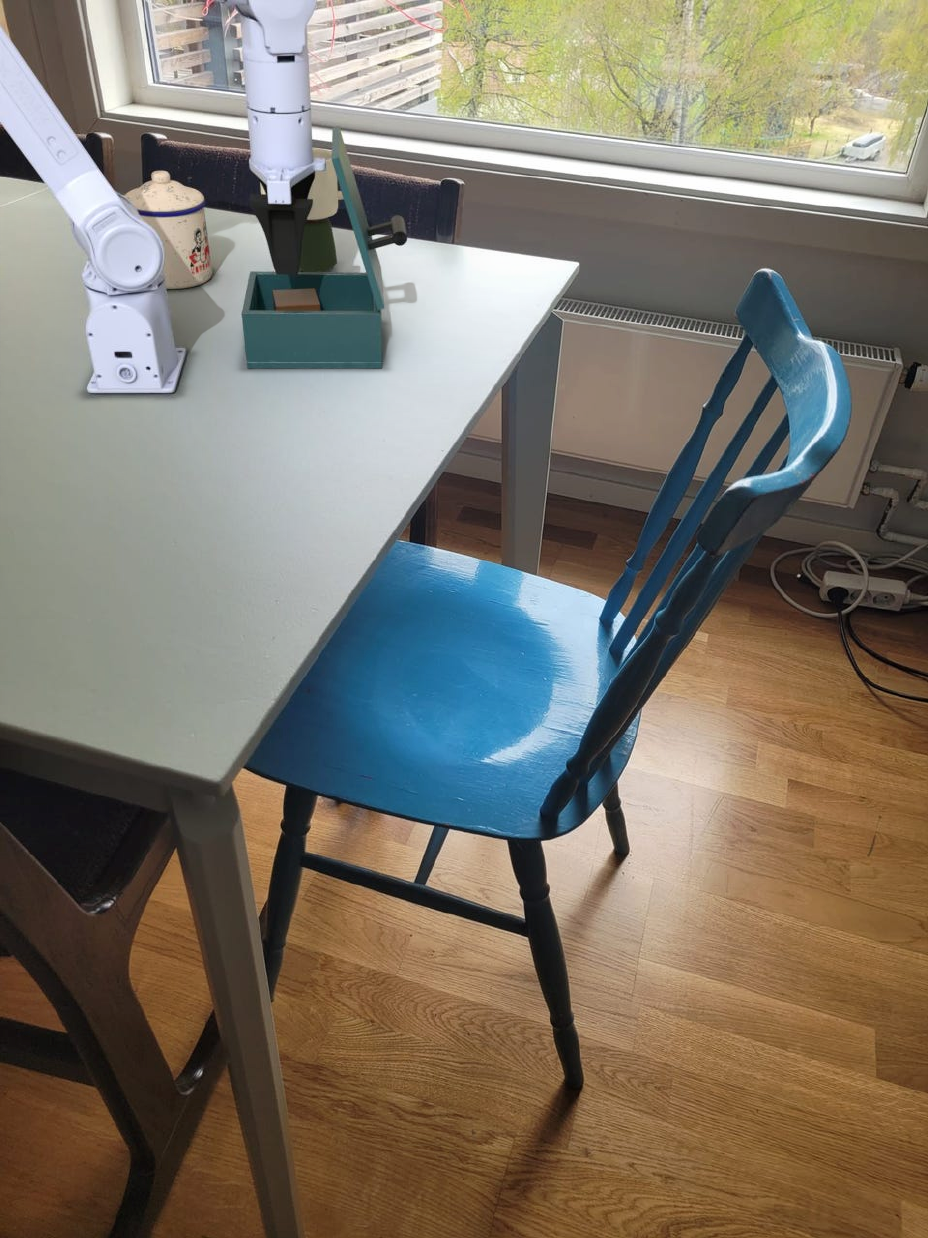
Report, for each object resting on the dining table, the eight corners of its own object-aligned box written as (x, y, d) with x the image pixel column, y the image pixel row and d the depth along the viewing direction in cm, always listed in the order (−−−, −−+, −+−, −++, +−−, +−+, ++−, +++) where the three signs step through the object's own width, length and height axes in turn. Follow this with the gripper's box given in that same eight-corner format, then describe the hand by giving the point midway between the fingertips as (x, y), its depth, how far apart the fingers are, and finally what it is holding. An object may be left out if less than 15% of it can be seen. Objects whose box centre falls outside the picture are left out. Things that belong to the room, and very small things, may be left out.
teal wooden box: (247, 368, 96) (241, 312, 92) (255, 323, 104) (250, 270, 101) (381, 368, 97) (381, 313, 93) (378, 324, 106) (378, 272, 102)
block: (322, 345, 99) (320, 304, 96) (279, 348, 98) (275, 306, 95) (317, 328, 102) (315, 288, 100) (275, 331, 101) (272, 289, 99)
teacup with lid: (210, 291, 111) (197, 184, 104) (129, 290, 110) (110, 182, 103) (220, 256, 120) (208, 155, 113) (145, 255, 119) (129, 154, 112)
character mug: (348, 255, 122) (345, 145, 114) (362, 275, 117) (359, 160, 109) (262, 261, 119) (253, 148, 111) (272, 281, 114) (263, 164, 106)
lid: (331, 158, 84) (380, 144, 84) (332, 127, 93) (376, 114, 93) (377, 310, 93) (422, 298, 93) (374, 269, 102) (415, 258, 102)
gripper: (322, 127, 81) (328, 286, 90) (325, 91, 92) (330, 236, 101) (237, 124, 81) (252, 285, 89) (250, 89, 92) (262, 235, 100)
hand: (288, 259), depth 95 cm, fingers open, 7 cm apart
